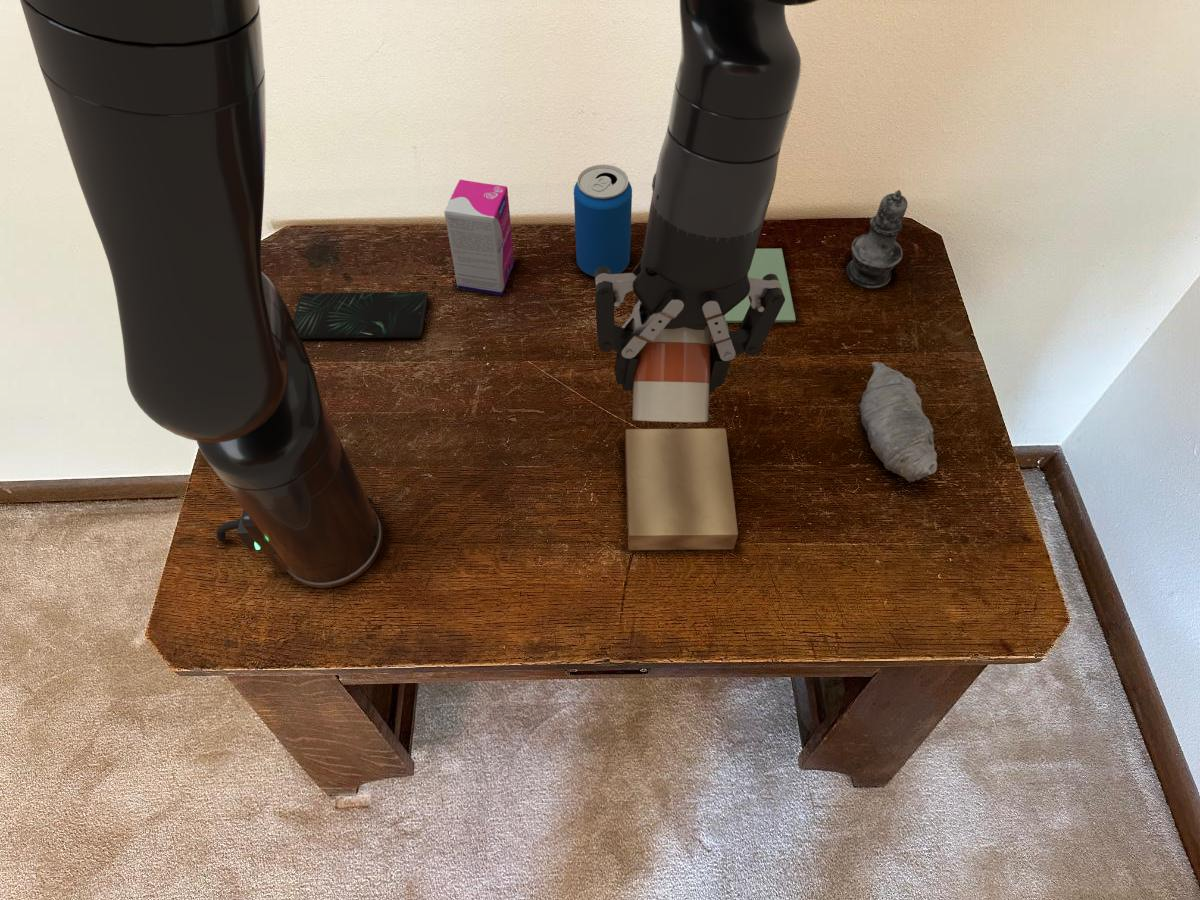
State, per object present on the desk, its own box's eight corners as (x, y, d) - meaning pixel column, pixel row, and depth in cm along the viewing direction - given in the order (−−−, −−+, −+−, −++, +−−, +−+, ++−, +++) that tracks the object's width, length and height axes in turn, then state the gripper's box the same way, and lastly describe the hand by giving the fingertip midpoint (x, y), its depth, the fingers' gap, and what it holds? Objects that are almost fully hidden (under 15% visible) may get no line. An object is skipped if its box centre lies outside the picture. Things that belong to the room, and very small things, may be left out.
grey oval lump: (909, 360, 84) (925, 336, 77) (931, 486, 82) (950, 474, 74) (847, 368, 85) (857, 345, 78) (867, 493, 83) (879, 482, 75)
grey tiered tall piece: (835, 261, 97) (861, 178, 87) (878, 251, 98) (909, 168, 88) (858, 294, 94) (888, 212, 84) (902, 284, 95) (937, 201, 85)
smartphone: (300, 292, 93) (428, 290, 93) (303, 298, 94) (429, 296, 94) (287, 336, 89) (420, 334, 89) (290, 342, 90) (422, 340, 90)
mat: (690, 323, 91) (691, 320, 91) (684, 251, 98) (684, 249, 98) (795, 322, 91) (796, 320, 91) (781, 250, 98) (781, 248, 98)
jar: (626, 418, 66) (639, 421, 60) (629, 286, 65) (643, 275, 59) (697, 420, 66) (717, 422, 60) (702, 289, 66) (722, 278, 60)
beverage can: (639, 257, 98) (643, 174, 88) (611, 289, 95) (612, 207, 85) (594, 238, 100) (593, 155, 90) (566, 269, 96) (561, 186, 87)
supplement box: (504, 296, 94) (493, 218, 84) (456, 289, 95) (440, 211, 85) (517, 262, 97) (507, 184, 88) (470, 256, 98) (456, 177, 88)
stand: (628, 550, 75) (629, 535, 73) (624, 445, 82) (625, 428, 79) (734, 549, 75) (738, 534, 73) (722, 445, 82) (725, 427, 79)
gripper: (604, 228, 49) (581, 417, 61) (830, 238, 50) (762, 420, 63) (596, 164, 53) (576, 351, 66) (801, 175, 55) (744, 355, 68)
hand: (667, 384), depth 64 cm, fingers closed on jar, 6 cm apart
